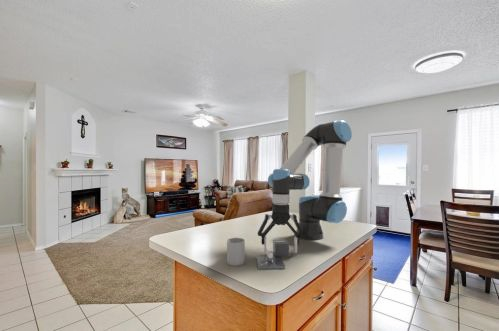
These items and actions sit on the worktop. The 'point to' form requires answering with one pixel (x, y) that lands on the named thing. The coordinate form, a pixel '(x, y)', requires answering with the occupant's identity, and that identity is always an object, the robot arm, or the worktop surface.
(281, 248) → the dark grey cube
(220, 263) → the worktop surface
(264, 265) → the base plate
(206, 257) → the worktop surface
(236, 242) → the cup
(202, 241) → the worktop surface
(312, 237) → the robot arm
